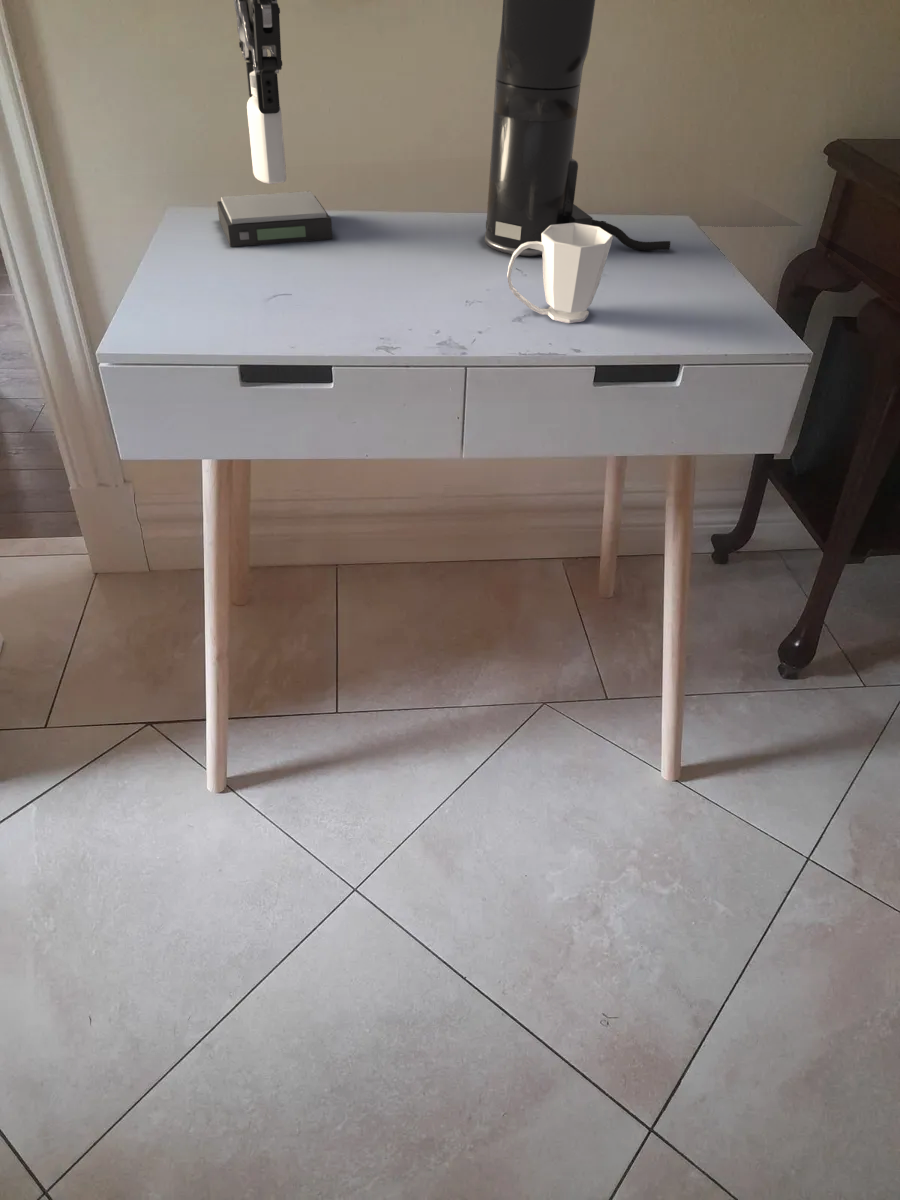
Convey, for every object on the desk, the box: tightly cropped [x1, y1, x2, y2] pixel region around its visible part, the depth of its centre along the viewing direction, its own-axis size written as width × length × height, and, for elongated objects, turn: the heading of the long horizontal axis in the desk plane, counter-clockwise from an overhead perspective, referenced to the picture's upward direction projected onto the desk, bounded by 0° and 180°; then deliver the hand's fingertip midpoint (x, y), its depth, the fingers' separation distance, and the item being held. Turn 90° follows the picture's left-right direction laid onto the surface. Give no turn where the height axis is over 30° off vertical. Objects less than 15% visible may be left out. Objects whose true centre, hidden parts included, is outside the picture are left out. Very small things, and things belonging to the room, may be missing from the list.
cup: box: [506, 223, 614, 324], centre depth 89 cm, size 7×10×8 cm
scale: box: [216, 190, 333, 248], centre depth 106 cm, size 12×9×3 cm
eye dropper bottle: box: [246, 71, 287, 185], centre depth 99 cm, size 4×6×12 cm
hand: (264, 105), depth 98 cm, fingers closed on eye dropper bottle, 5 cm apart
